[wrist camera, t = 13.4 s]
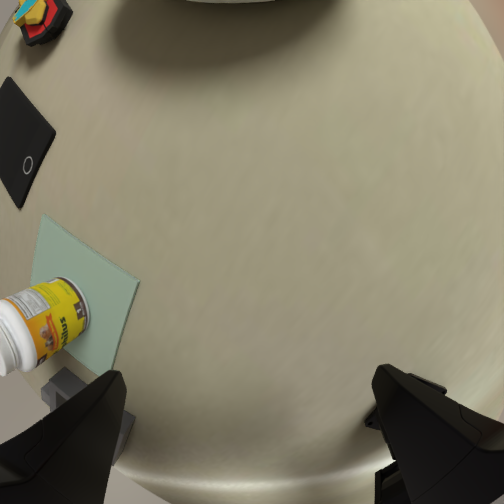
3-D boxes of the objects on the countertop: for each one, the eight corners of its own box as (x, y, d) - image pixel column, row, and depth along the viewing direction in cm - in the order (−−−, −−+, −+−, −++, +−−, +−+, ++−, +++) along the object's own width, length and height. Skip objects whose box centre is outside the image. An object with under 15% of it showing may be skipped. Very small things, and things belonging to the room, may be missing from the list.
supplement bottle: (85, 343, 21) (14, 400, 11) (47, 306, 21) (-26, 346, 11) (100, 300, 20) (11, 356, 10) (58, 262, 19) (-31, 294, 9)
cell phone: (24, 209, 20) (18, 210, 19) (-17, 134, 19) (-21, 133, 18) (59, 133, 18) (53, 132, 17) (11, 76, 17) (7, 75, 17)
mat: (140, 280, 19) (137, 282, 19) (109, 380, 22) (107, 382, 21) (45, 214, 19) (42, 214, 19) (30, 314, 22) (28, 315, 21)
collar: (135, 417, 22) (123, 434, 19) (122, 451, 24) (113, 466, 21) (54, 358, 22) (39, 370, 19) (54, 402, 24) (42, 414, 21)
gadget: (48, 61, 18) (19, 51, 12) (28, 18, 15) (6, 8, 9) (87, 22, 17) (61, 5, 11) (61, -14, 13) (41, -28, 8)
